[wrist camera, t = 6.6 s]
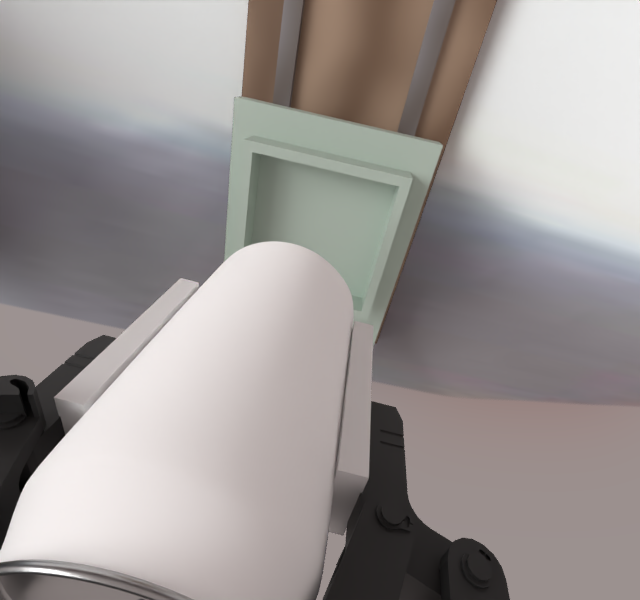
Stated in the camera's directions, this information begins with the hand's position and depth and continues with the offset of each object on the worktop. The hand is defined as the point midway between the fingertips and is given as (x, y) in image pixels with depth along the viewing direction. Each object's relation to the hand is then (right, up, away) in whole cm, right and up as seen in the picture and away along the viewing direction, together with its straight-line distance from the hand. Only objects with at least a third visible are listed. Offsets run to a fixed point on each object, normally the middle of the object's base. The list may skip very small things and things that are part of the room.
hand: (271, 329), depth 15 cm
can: (0, +1, +2) cm, 2 cm away
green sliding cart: (+2, +6, +15) cm, 16 cm away
